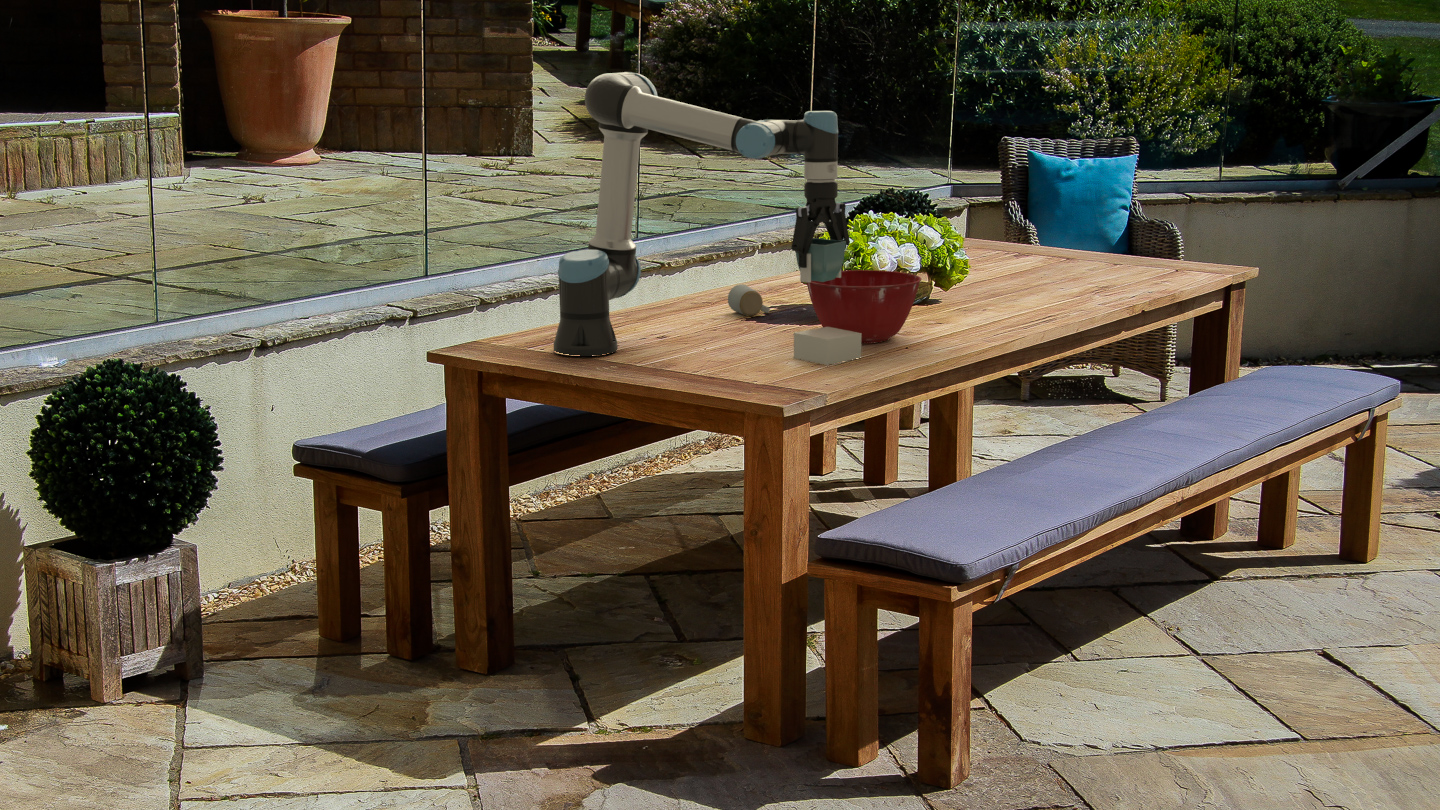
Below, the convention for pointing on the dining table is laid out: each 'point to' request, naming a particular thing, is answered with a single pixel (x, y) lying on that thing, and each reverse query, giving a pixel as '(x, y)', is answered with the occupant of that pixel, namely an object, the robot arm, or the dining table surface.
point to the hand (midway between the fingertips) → (820, 279)
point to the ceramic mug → (746, 300)
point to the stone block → (827, 345)
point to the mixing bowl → (865, 302)
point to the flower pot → (825, 258)
